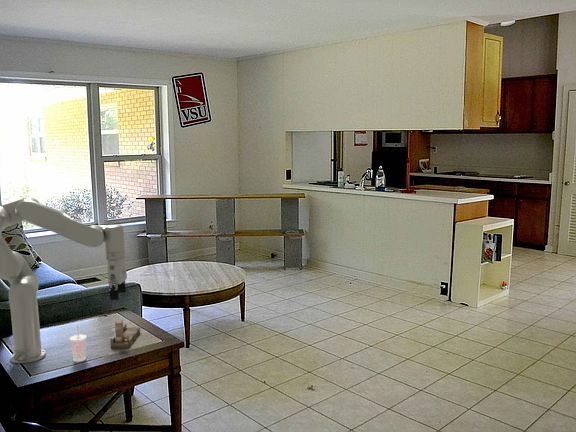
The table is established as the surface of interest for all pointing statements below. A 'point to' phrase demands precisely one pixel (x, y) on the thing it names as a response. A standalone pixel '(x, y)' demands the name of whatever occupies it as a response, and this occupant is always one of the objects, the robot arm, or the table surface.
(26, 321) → the robot arm
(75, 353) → the beverage cup
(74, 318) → the table surface
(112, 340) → the wooden slotted block
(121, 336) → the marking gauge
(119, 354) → the table surface
